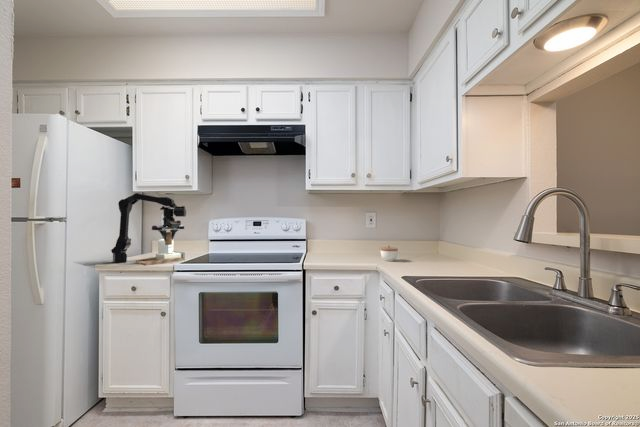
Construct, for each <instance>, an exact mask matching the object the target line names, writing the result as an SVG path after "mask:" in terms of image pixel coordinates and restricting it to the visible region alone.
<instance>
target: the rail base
mask: <svg viewBox="0 0 640 427" xmlns="http://www.w3.org/2000/svg"><path fill="white" fill-rule="evenodd" d="M172 252H174V253H181V257H180V258H172V259H164V260H157V259H156V257H151V258H150V257H149V258H142V259H136V260H135V264H137V263H138V265H143V266H151V265H152V266H153V265H159V264H167V263H174V262H182V260H183V261H185V260H186V253H185V252H182V251H176V250H173V251H172Z"/></svg>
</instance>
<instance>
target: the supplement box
mask: <svg viewBox="0 0 640 427" xmlns="http://www.w3.org/2000/svg"><path fill="white" fill-rule="evenodd" d="M157 242H158V244H157V247H158V250H157V251H158V252H157V254H161V253H171V252H172V251H174V239H173V240H172V245H165V241H164V239H163V238H162V239H158V241H157Z"/></svg>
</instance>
